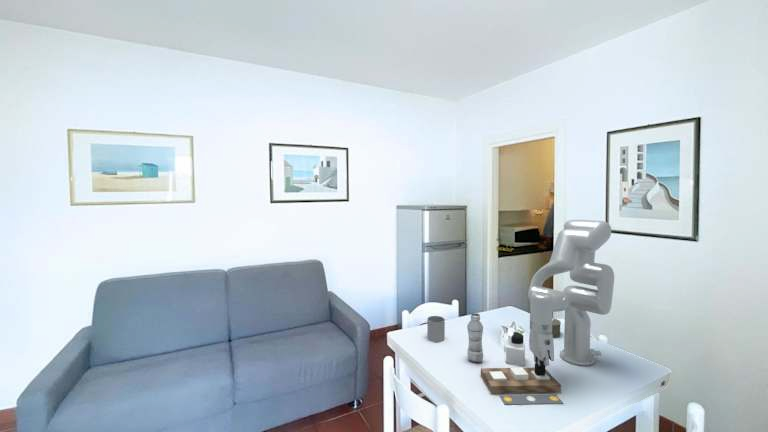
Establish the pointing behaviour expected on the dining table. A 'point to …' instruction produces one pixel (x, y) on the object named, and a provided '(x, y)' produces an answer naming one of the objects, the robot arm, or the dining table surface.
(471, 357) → the plastic bottle
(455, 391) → the dining table surface
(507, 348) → the medicine bottle
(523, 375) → the button middle
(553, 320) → the can
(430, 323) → the cup
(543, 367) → the robot arm
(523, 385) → the button board
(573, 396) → the dining table surface
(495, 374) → the button
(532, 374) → the button
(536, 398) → the pattern card
